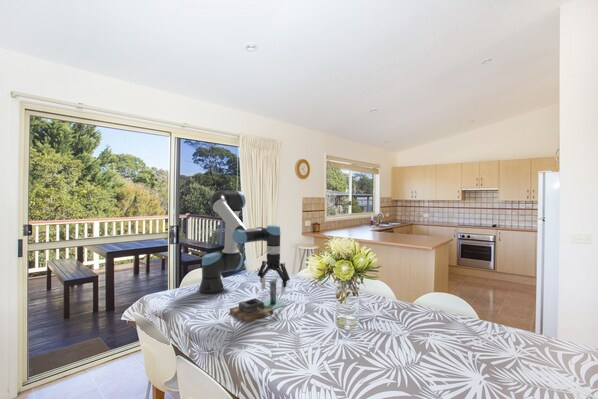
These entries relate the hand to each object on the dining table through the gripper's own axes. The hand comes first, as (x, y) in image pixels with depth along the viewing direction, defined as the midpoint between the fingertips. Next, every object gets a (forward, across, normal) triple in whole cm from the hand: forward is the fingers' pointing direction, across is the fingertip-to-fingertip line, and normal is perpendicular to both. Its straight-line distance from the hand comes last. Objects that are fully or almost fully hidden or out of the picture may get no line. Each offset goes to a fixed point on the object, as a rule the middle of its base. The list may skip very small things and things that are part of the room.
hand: (273, 290), depth 166 cm
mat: (+7, 0, 0) cm, 8 cm away
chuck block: (+7, +1, -17) cm, 19 cm away
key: (+7, 0, 0) cm, 7 cm away
